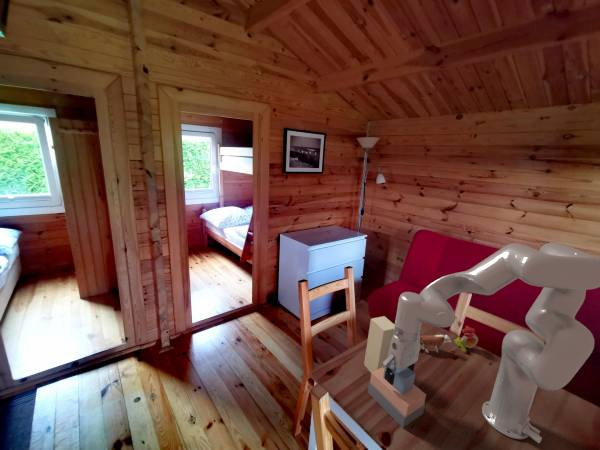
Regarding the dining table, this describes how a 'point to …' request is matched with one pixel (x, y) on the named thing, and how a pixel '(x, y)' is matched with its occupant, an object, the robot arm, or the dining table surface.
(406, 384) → the slate brick
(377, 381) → the pink and grey block
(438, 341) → the bull figurine
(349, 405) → the dining table surface
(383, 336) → the toy refrigerator
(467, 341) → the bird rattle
